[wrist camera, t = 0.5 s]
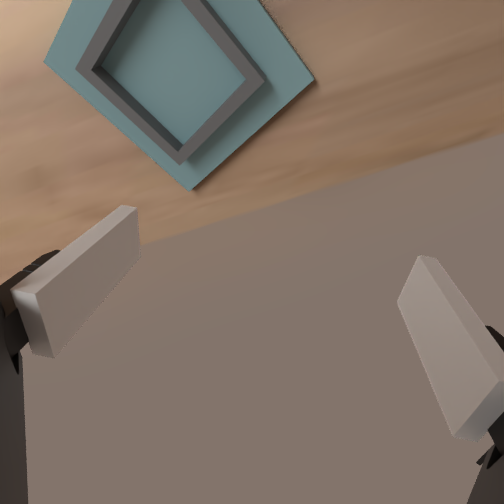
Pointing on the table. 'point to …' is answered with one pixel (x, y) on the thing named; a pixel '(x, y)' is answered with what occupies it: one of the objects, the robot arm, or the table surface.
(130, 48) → the glass holder
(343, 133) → the table surface
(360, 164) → the table surface
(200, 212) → the table surface
